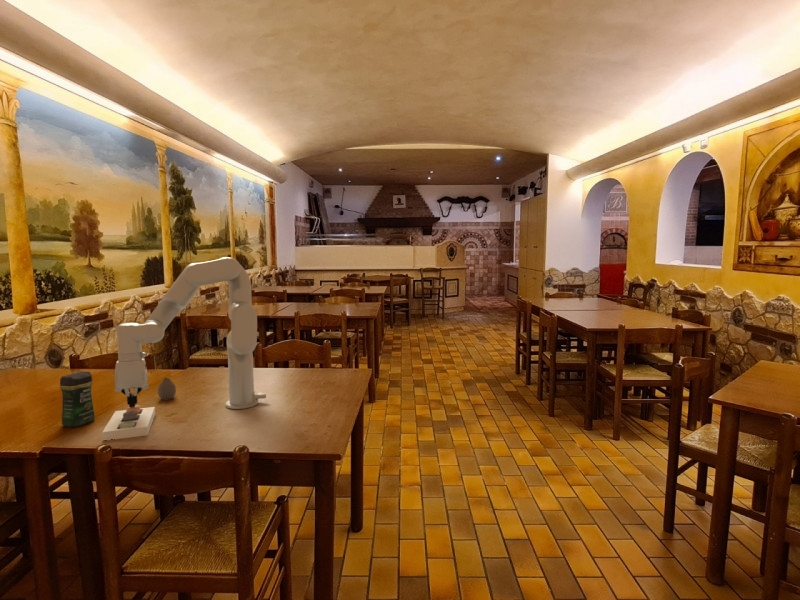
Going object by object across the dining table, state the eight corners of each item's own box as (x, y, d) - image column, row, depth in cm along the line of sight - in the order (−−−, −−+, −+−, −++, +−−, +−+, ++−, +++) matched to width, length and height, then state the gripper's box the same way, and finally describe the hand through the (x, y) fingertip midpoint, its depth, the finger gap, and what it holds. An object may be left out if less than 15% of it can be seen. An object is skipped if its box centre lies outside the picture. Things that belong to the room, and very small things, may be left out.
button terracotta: (141, 412, 173) (141, 404, 173) (139, 416, 169) (139, 408, 169) (128, 413, 172) (127, 405, 171) (126, 417, 168) (125, 409, 167)
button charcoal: (138, 418, 167) (138, 410, 167) (136, 422, 163) (136, 414, 162) (124, 420, 165) (124, 411, 165) (122, 424, 161) (121, 415, 161)
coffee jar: (76, 429, 162) (72, 377, 160) (57, 427, 164) (54, 375, 162) (99, 419, 171) (96, 370, 170) (82, 417, 173) (78, 369, 171)
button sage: (135, 429, 160) (135, 420, 160) (133, 433, 156) (133, 424, 156) (121, 430, 159) (120, 422, 159) (118, 435, 155) (118, 426, 155)
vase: (168, 401, 192) (167, 381, 191) (154, 400, 193) (153, 380, 193) (180, 396, 199) (179, 376, 198) (165, 395, 200) (164, 375, 199)
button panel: (155, 414, 177) (154, 406, 176) (147, 435, 156) (147, 426, 156) (115, 418, 172) (115, 411, 172) (102, 441, 152) (102, 432, 151)
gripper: (154, 353, 174) (156, 400, 176) (108, 356, 169) (111, 405, 171) (152, 357, 168) (154, 406, 169) (104, 360, 162) (106, 411, 164)
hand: (132, 405), depth 170 cm, fingers closed
